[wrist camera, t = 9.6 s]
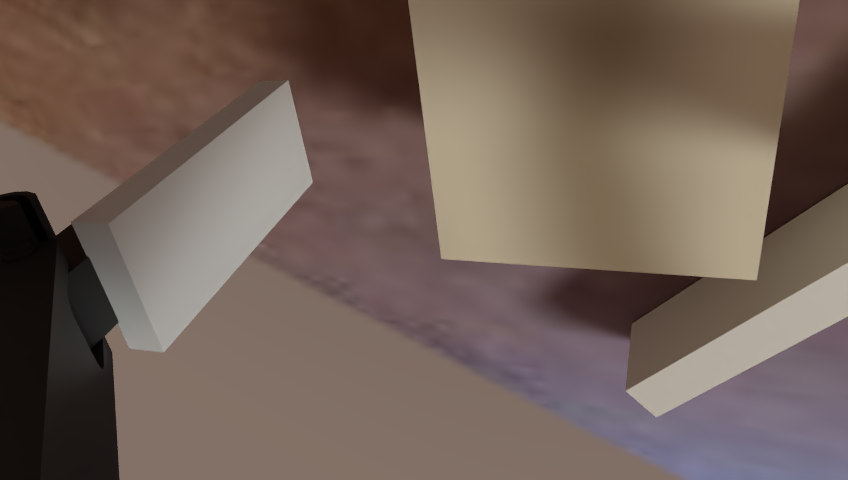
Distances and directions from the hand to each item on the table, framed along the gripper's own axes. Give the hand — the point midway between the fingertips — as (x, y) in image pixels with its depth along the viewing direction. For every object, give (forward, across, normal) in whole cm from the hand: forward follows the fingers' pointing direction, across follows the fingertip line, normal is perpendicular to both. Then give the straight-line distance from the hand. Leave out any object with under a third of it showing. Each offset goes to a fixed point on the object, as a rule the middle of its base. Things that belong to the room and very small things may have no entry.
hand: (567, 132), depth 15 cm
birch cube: (+9, 0, 0) cm, 9 cm away
